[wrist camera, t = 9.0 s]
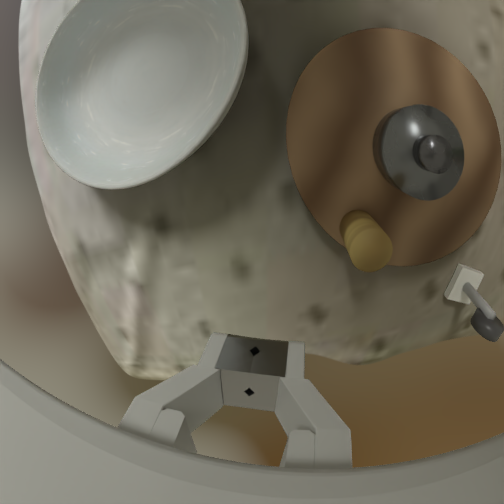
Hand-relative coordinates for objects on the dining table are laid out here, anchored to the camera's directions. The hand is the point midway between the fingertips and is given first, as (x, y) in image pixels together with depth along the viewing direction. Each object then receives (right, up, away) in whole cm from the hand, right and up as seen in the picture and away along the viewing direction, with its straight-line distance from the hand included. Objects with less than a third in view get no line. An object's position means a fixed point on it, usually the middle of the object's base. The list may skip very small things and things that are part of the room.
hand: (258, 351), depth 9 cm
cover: (+12, +11, +9) cm, 19 cm away
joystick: (+24, 0, +15) cm, 28 cm away
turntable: (+13, +12, +10) cm, 21 cm away
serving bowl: (-10, +20, +12) cm, 26 cm away
